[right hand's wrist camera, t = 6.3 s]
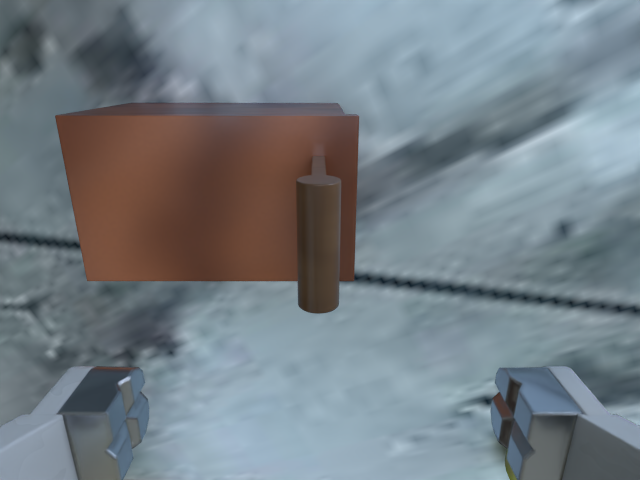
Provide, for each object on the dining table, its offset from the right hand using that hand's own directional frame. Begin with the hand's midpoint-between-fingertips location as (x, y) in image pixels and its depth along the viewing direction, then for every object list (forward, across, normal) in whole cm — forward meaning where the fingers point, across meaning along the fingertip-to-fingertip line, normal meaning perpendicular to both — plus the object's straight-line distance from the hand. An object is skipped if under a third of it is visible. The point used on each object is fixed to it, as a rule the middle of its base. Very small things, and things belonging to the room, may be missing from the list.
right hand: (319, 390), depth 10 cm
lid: (+17, +6, 0) cm, 18 cm away
